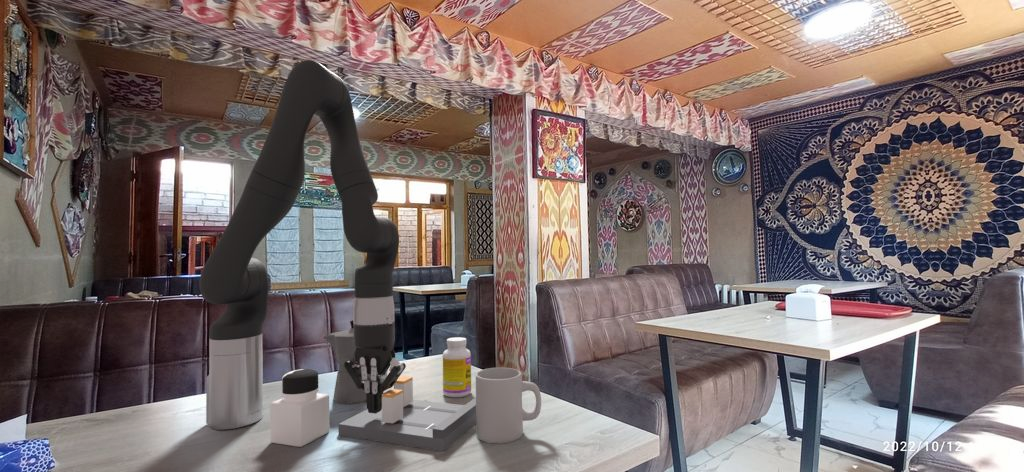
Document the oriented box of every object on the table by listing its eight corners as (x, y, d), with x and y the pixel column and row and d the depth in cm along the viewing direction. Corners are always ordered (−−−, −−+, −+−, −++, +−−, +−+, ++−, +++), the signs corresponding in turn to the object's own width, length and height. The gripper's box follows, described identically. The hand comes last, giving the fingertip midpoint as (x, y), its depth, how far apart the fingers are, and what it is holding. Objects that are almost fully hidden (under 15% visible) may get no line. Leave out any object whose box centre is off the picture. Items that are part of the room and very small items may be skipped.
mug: (472, 443, 77) (471, 379, 78) (480, 424, 86) (479, 367, 86) (541, 445, 76) (539, 380, 77) (542, 425, 85) (541, 367, 85)
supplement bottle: (469, 398, 102) (468, 341, 102) (440, 398, 102) (439, 342, 102) (472, 389, 108) (471, 336, 109) (445, 389, 108) (444, 336, 109)
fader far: (393, 405, 90) (393, 380, 91) (403, 400, 93) (402, 376, 94) (403, 407, 90) (403, 381, 90) (412, 401, 93) (412, 377, 93)
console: (338, 434, 82) (338, 415, 82) (390, 406, 97) (390, 390, 97) (443, 451, 75) (442, 430, 75) (482, 417, 89) (482, 399, 90)
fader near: (382, 421, 82) (381, 393, 82) (392, 415, 85) (392, 388, 85) (393, 423, 81) (392, 395, 81) (403, 417, 84) (402, 389, 84)
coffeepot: (319, 406, 98) (318, 324, 99) (329, 393, 107) (328, 318, 108) (391, 401, 101) (390, 321, 101) (394, 388, 110) (394, 315, 111)
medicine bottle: (330, 432, 84) (329, 367, 84) (300, 448, 77) (300, 378, 77) (300, 428, 86) (300, 365, 87) (269, 443, 79) (269, 375, 80)
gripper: (332, 322, 84) (332, 415, 83) (391, 324, 79) (392, 423, 79) (359, 316, 91) (359, 402, 90) (414, 318, 86) (415, 409, 86)
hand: (375, 411), depth 84 cm, fingers closed
